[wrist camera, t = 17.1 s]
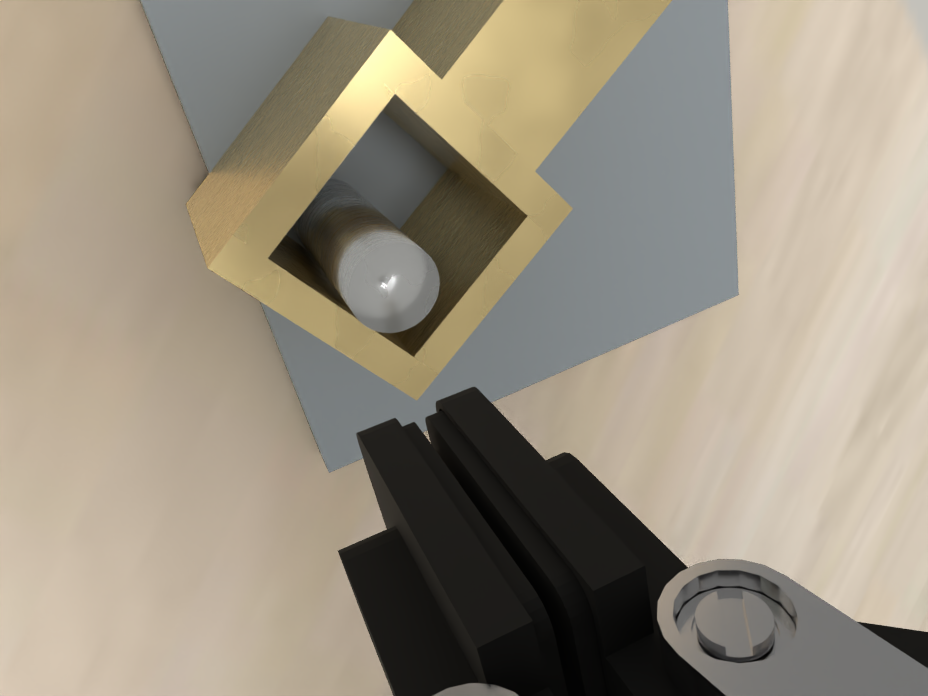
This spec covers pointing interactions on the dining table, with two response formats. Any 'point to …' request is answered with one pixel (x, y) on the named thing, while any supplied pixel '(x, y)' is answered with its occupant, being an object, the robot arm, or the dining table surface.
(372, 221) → the cylinder
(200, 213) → the link
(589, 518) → the robot arm
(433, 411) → the base plate
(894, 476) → the dining table surface
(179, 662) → the dining table surface
